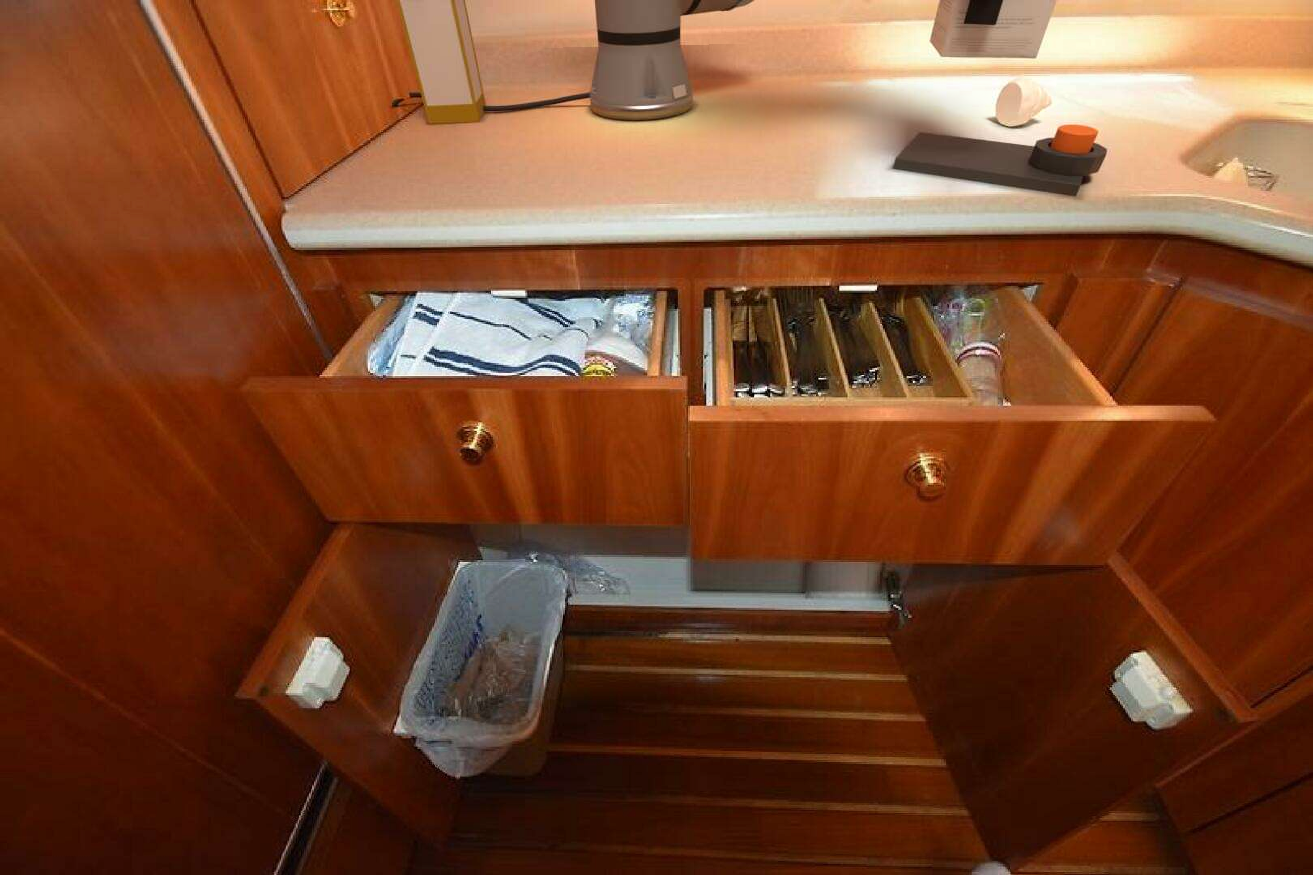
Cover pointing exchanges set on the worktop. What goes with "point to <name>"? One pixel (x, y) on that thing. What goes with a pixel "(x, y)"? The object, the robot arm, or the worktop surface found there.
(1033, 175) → the base
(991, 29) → the rectangular carton
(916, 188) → the worktop surface
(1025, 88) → the garlic bulb
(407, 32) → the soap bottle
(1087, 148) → the switch
